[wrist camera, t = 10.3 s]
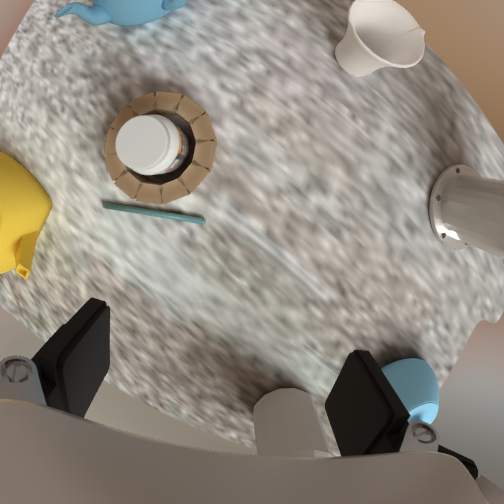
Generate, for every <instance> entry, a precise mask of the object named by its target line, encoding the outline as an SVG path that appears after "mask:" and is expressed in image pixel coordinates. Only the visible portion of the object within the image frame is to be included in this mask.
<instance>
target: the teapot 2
mask: <svg viewBox="0 0 504 504" xmlns="http://www.w3.org/2000/svg"><path fill="white" fill-rule="evenodd" d="M92 1H93V5H94V6H92V7H87V6H85V5H84V4H82V3H79V2H76V3H71V4H69V5H67V6H65V7H63V8H62V9H61V10H59V11H58V12H57V13H56V15H55V17H56V18H58V17H61V16H64V15H67V14H76V15H78V16H79V17H80V18H81V19H83V20H84V21H85V22H87V23H89V24H92V25H102V24H106V23H109V22H110V23H113V24H116V25H122V26H134V25H141V24H145V23H148V22H151V21H154V20H157V19H159V18H161V17H163V16H165V15H167V14H168V13H170V12H171V11H173V10H175V9H178V8H180V7H182V6H183V5H185V4H186V3H187V2H188V1H189V0H92Z"/></svg>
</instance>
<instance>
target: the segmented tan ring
mask: <svg viewBox="0 0 504 504" xmlns="http://www.w3.org/2000/svg"><path fill="white" fill-rule="evenodd" d="M129 104H130V107H129V106H127V105H125V107H124V108H123V109H122V110H121V112H120V113H119V114H118V115H117V117H116V118H115V119H114V121H113V122H112V123H111V125H110V126H112V127H113V128H114V129H108V134H107V139H106V144H105V150H104V154H110V155H108V156H106V157H104V158H105V161H106V164H107V167H108V170H109V173H110V176H111V179H112V181H113V180H116V182H115V183H114V184H115V185H116V186H117V187H119V188H120V189H121V190H122V191H123V192H125V193H126V194H127V195H128V196H129V197H130V198H132V199H135V198H136V201H141V202H147V203H154V204H160V205H161V204H162V203H164V204H166V203H168V202H171V201H173V200H176V199H178V198H181V197H184V196H186V195H189V194H190V193H192V192H193V191H194V190H195V189H196V188H197V187H198V186H199V185H200V183H201V182H202V181H203V180H204V179H205V177H206V176H207V175H208V174H209V173H210V172H211V171H210V170H209V169H207V168H212V167H213V162H214V157H215V152H216V147H217V143H216V142H215V141H217V139H216V137H215V134H214V131H213V128H212V125H211V123H210V120H209V117H208V114H206V112H205V110H204V109H202V108H201V107H200V106H199V105H197V104H196V103H195V102H194V101H192V100H191V99H190V98H188V97H187V96H186V95H185V96H183V95H182V94H180V93H171V92H160V91H156V94H155V93H154V92H151V93H149V94H146V95H144V96H142V97H140V98H137V99H135V100H133V101H131V102H129ZM159 114H169V115H177V116H180V117H181V118H183V119H184V120H185V121H186V122H188V123H189V124H190V125H191V128H192V131H193V134H194V137H195V139H196V146H195V151H194V156H193V161H192V163H191V164H190V165H189V166H188V168H187V169H186V170H185V171H184V172H183V174H182V175H181V176H180V177H179V178H178V179H175V180H172V181H170V182H167V183H165V184H164V183H157V182H150V181H147V180H146V179H145V178H144V177H143V176H141V175H140V174H139V173H137V172H135V171H133V170H132V169H131V168H129V167H127V166H126V165H124V164H123V163H122V162H121V160H120V159H119V157H118V155H117V152H116V146H115V144H116V137H117V134H118V132H119V130H120V129H121V127H122V126H123V125H124V124H125V123H126V122H127V121H128V120H130V119H131V118H134V117H136V116H140V115H159ZM206 167H207V168H206Z"/></svg>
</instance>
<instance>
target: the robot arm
mask: <svg viewBox="0 0 504 504" xmlns="http://www.w3.org/2000/svg"><path fill="white" fill-rule="evenodd" d="M429 215H430V221H431V225H432V229H433V231H434V233H435V235H436V237H437V238H438V240H439V241H440V242H441V243H442V244H443V245H445V246H447V247H449V248H452V249H463V248H466V247H468V246H469V245H472V246H474V247H477V248H479V249H481V250H484V251H486V252H488V253H491V254H493V255H495V256H497V257H500V258H502V259H504V181H502V180H496V179H489V178H482V177H480V175H479V174H478V173H477V171H476V170H474V169H473V168H472V167H470V166H467V165H463V164H455V165H452V166H449V167H448V168H446V169H445V170H444V171H443V172H442V173H441V174H440V175H439V177H438V178H437V180H436V182H435V184H434V187H433V189H432V193H431V197H430V205H429ZM109 365H110V307H109V306H106V302H105V301H102V300H99V299H95V298H90V299H89V300H88V301H87V302H86V303H85V304H84V305H83V306H82V307H81V308H80V309H79V311H78V312H77V313H76V314H75V315H74V316H73V317H72V318H71V319H70V320H69V321H68V322H67V323H66V324H63V325H62V326H61V327H60V328H59V329H58V330H57V331H56V332H55V333H54V334H53V336H52V337H51V338H50V339H49V340H48V341H47V342H46V343H45V344H44V345H43V347H42V348H41V349H40V350H39V351H38V352H37V353H36V354H35V356H34V357H33V358H32V359H31V360H30V359H28V358H27V357H23V356H15V355H14V356H9V357H7V358H4V359H3V360H2V361H1V362H0V504H504V491H503V490H502V489H500V488H499V487H498V486H496V485H495V484H494V483H492V482H491V481H489V480H488V479H487V478H485V477H484V476H483V475H480V476H479V477H478V469H477V466H476V465H475V463H474V462H473V461H472V460H471V459H468V458H467V457H464V456H462V455H460V454H458V453H456V452H453V451H451V450H449V449H447V448H445V447H442V446H440V445H439V434H438V432H437V430H436V429H435V428H434V427H433V426H431V425H430V424H428V423H426V422H423V421H413V422H411V423H410V424H409V422H408V421H407V420H408V419H409V418H410V416H411V415H410V414H409V412H408V411H407V409H406V408H405V406H404V404H403V403H402V401H401V400H400V398H399V396H398V395H397V393H396V392H395V390H394V389H393V387H392V386H391V384H390V382H389V381H388V379H387V378H386V376H385V375H384V373H383V372H382V370H381V369H380V367H379V366H378V364H377V363H376V361H375V360H374V358H373V357H372V355H371V353H370V352H369V351H364V350H354V351H353V352H352V353H350V354H349V355H348V357H347V359H346V361H345V363H344V365H343V368H342V370H341V372H340V374H339V376H338V378H337V380H336V382H335V384H334V386H333V388H332V390H331V392H330V394H329V396H328V398H327V400H326V402H325V410H326V413H327V416H328V418H329V421H330V424H331V427H332V430H333V433H334V436H335V439H336V442H337V445H338V448H339V450H340V453H341V456H340V457H284V456H266V455H252V454H242V453H232V452H225V451H217V450H211V449H204V448H198V447H192V446H187V445H181V444H176V443H171V442H167V441H162V440H158V439H154V438H149V437H145V436H142V435H138V434H134V433H130V432H127V431H123V430H120V429H116V428H113V427H109V426H106V425H103V424H99V423H97V422H94V421H91V420H88V419H85V418H84V416H85V414H86V412H87V410H88V408H89V406H90V404H91V402H92V400H93V398H94V396H95V394H96V392H97V391H98V389H99V387H100V385H101V383H102V381H103V379H104V377H105V376H106V374H107V372H108V369H109Z"/></svg>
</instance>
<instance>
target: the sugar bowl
mask: <svg viewBox="0 0 504 504" xmlns="http://www.w3.org/2000/svg"><path fill="white" fill-rule="evenodd" d="M381 370H382V372H383V373H384V375H385V376H386V378H387V379H388V381H389V382H390V384H391V386H392V387H393V389H394V390H395V392H396V393H397V395H398V396H399V398H400V400H401V401H402V403H403V404H404V406H405V408H406V409H407V411H408V412H409V414H410V415H411V416H410V418H409V419H408V420H407V421H408V422H409V424H410V423H411V422H413V421H423V422H426V423H428V424H431V422H432V421H433V420H434V419H435V417H436V415H437V412H438V407H439V387H438V382H437V378H436V376H435V374H434V372H433V370H432V368H431V367H430V366H429V364H428V363H427V362H425V361H423V360H421V359H417V358H409V359H402V360H398V361H395V362H392V363H390V364H388V365H386V366H384V367H382V368H381Z"/></svg>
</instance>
